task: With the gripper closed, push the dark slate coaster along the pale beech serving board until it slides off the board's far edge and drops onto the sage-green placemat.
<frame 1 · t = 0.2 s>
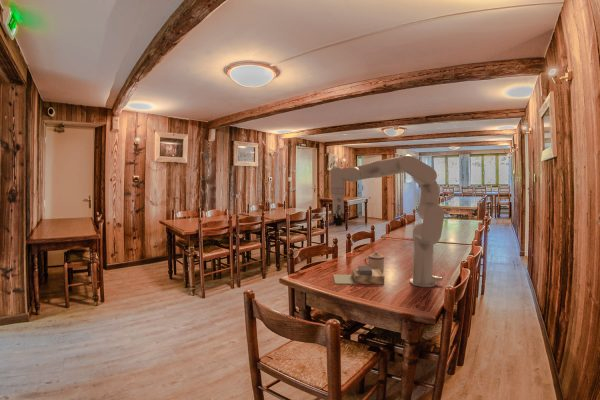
hand: (337, 224, 163), 31 cm above the table, tool pointing down, fingers open, 9 cm apart
placemat: (343, 279, 170), on the table
teacup with lid: (373, 271, 186), on the table
coaster: (364, 272, 169), point 4 cm above the table, touching board
board: (367, 279, 170), on the table
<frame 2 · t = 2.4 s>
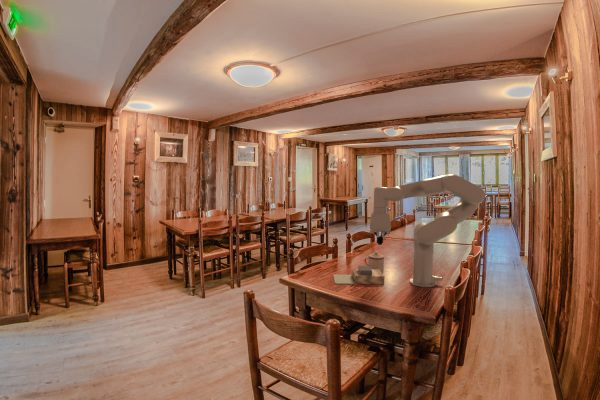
hand: (379, 244, 168), 19 cm above the table, tool pointing down, fingers closed
nothing on the table moved.
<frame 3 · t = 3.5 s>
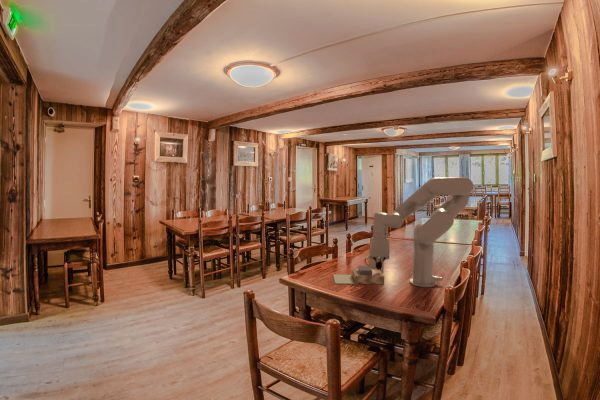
hand: (378, 269, 169), 6 cm above the table, tool pointing down, fingers closed
nothing on the table moved.
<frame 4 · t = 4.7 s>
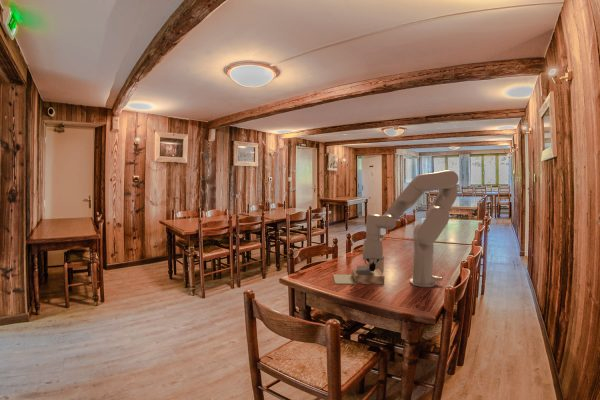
hand: (372, 270, 169), 5 cm above the table, tool pointing down, fingers closed
coaster: (363, 272, 169), point 4 cm above the table, touching gripper
everything else where it was.
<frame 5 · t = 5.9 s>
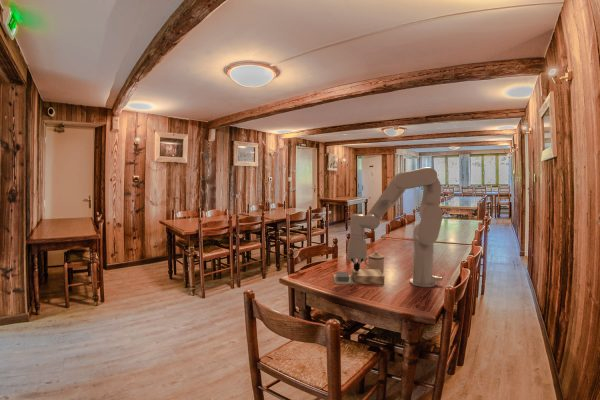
hand: (356, 270, 169), 5 cm above the table, tool pointing down, fingers closed
coaster: (342, 274, 170), point 3 cm above the table, tilted 180°, touching placemat
everything else where it was.
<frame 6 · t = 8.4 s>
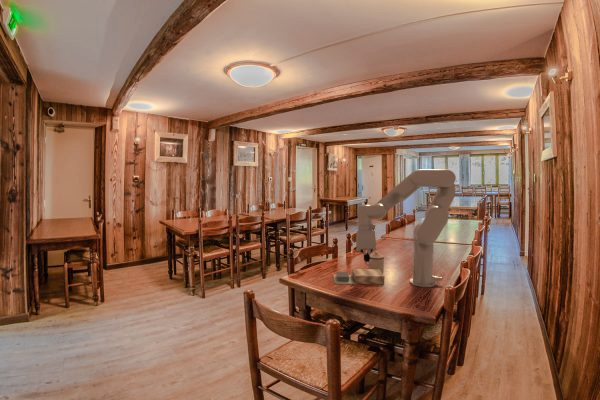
hand: (366, 261, 169), 10 cm above the table, tool pointing down, fingers closed
nothing on the table moved.
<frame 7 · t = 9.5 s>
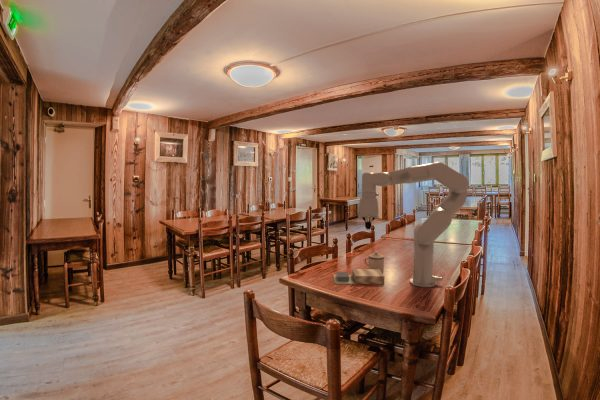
hand: (368, 229, 171), 27 cm above the table, tool pointing down, fingers closed
nothing on the table moved.
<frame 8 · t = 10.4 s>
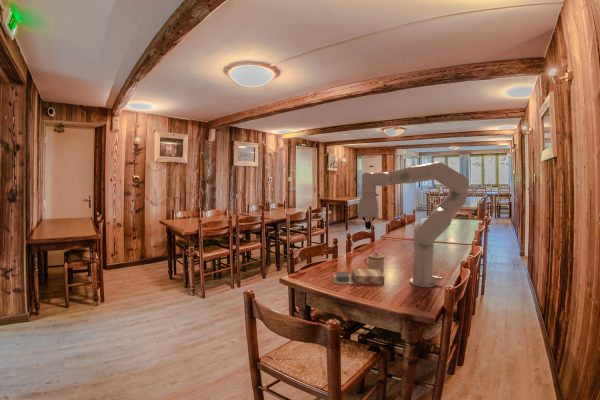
hand: (368, 229, 171), 27 cm above the table, tool pointing down, fingers closed
nothing on the table moved.
at the end: coaster point 2.8 cm above the table; coaster inside the target area on the placemat (0.5 cm from its centre), point 2.8 cm above the placemat's base; coaster touching placemat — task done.
